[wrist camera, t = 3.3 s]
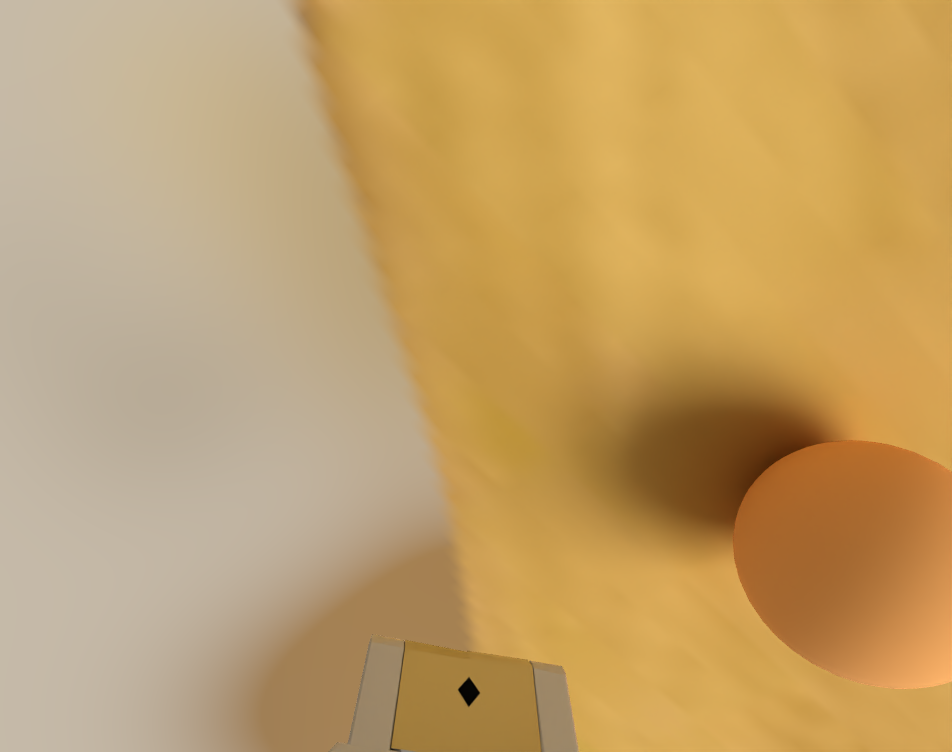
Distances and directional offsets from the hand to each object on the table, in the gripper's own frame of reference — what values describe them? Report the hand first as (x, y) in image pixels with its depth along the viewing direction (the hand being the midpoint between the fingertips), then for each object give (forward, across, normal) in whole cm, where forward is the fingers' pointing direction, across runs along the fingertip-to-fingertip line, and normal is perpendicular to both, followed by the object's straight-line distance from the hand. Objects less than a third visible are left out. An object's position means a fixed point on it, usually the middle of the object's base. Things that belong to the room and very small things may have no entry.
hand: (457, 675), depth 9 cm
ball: (+4, -10, -1) cm, 10 cm away
